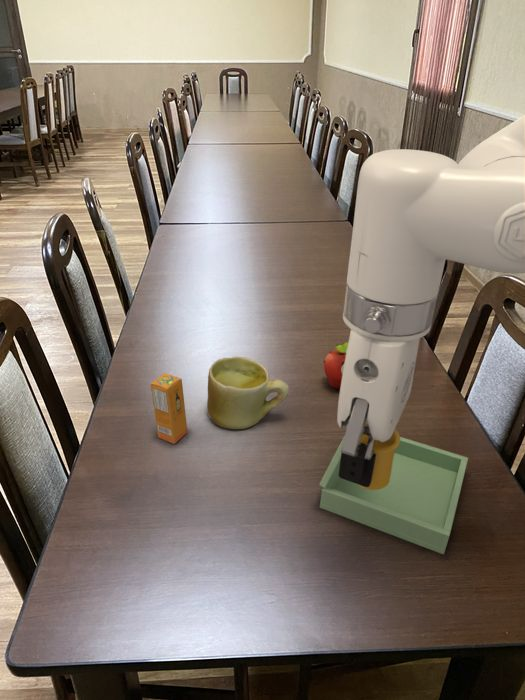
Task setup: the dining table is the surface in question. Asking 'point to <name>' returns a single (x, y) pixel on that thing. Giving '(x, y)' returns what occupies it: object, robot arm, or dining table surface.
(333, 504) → the green tray box
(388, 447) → the cup
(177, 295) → the dining table surface
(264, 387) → the mug
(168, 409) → the supplement box
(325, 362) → the apple
